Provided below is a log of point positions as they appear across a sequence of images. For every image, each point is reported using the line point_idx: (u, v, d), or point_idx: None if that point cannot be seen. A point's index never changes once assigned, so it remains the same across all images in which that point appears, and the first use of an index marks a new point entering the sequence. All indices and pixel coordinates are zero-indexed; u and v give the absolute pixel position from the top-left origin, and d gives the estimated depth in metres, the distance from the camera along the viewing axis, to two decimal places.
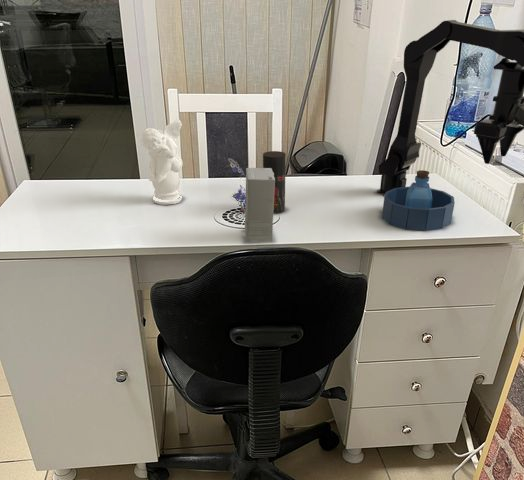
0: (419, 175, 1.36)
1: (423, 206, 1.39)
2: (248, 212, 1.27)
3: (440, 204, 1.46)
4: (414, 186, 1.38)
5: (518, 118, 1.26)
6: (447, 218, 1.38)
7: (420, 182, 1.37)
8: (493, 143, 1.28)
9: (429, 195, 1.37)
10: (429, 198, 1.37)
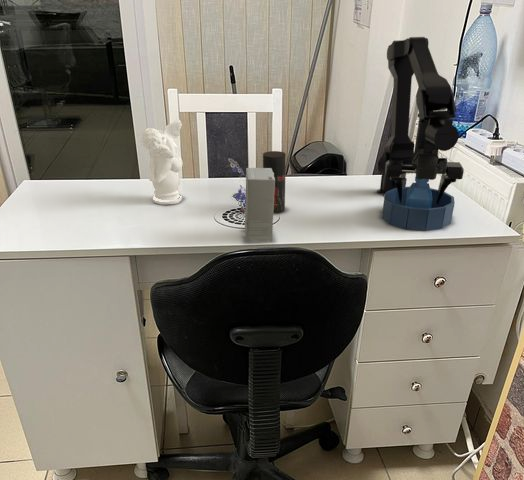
0: None
1: (423, 206, 1.39)
2: (248, 212, 1.27)
3: (440, 204, 1.46)
4: (414, 186, 1.38)
5: (415, 165, 1.32)
6: (447, 218, 1.38)
7: (420, 182, 1.37)
8: None
9: (429, 195, 1.37)
10: (429, 198, 1.37)
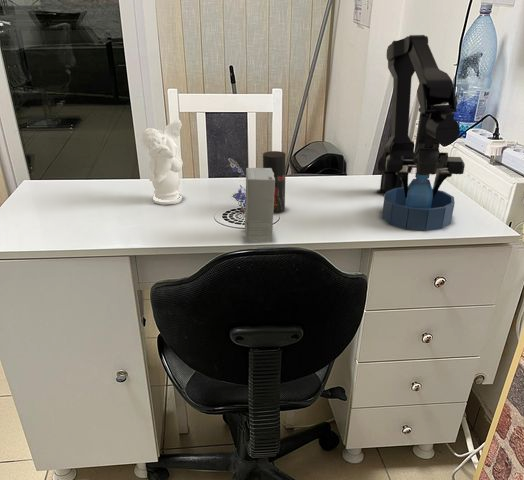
0: None
1: (424, 202, 1.38)
2: (248, 212, 1.27)
3: (440, 204, 1.46)
4: (414, 182, 1.38)
5: (416, 160, 1.32)
6: (447, 218, 1.38)
7: (420, 178, 1.36)
8: None
9: (429, 191, 1.37)
10: (430, 194, 1.37)
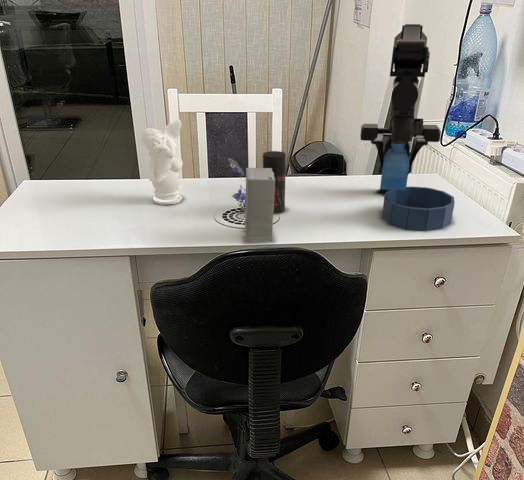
0: None
1: (400, 173, 1.34)
2: (248, 212, 1.27)
3: (440, 204, 1.46)
4: (390, 152, 1.33)
5: (391, 127, 1.27)
6: (447, 218, 1.38)
7: (396, 148, 1.32)
8: None
9: (406, 161, 1.33)
10: (406, 164, 1.33)
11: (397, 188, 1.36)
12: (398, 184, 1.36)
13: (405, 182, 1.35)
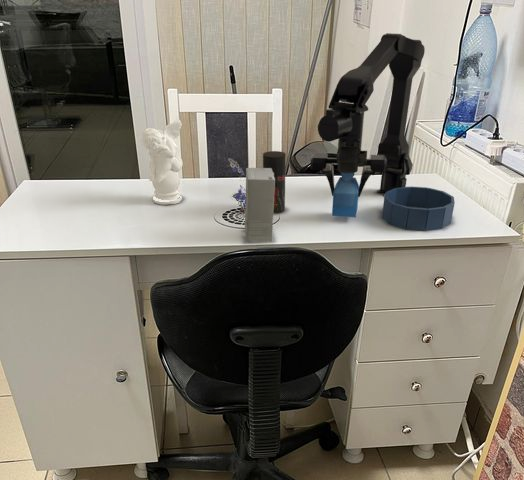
0: None
1: (349, 200, 1.38)
2: (248, 212, 1.27)
3: (440, 204, 1.46)
4: (340, 181, 1.38)
5: (338, 158, 1.32)
6: (447, 218, 1.38)
7: (345, 177, 1.37)
8: None
9: (354, 190, 1.37)
10: (355, 192, 1.37)
11: (347, 215, 1.41)
12: (347, 211, 1.40)
13: (354, 210, 1.39)
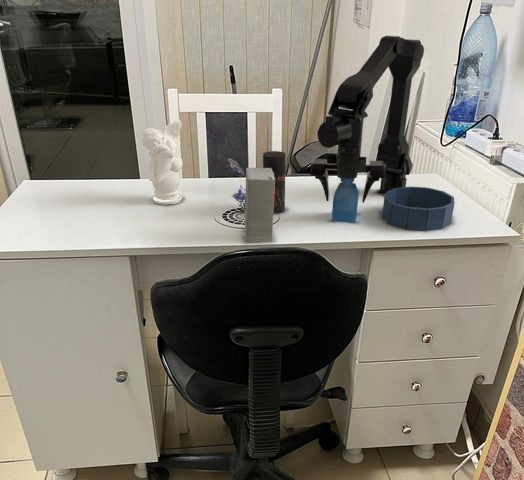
0: None
1: (349, 206, 1.39)
2: (248, 212, 1.27)
3: (440, 204, 1.46)
4: (340, 186, 1.39)
5: (337, 164, 1.33)
6: (447, 218, 1.38)
7: (345, 182, 1.38)
8: None
9: (354, 195, 1.38)
10: (354, 198, 1.38)
11: (347, 220, 1.42)
12: (347, 216, 1.41)
13: (354, 215, 1.40)
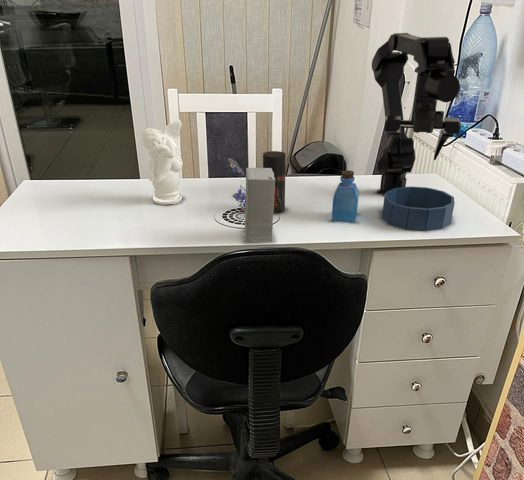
0: (344, 175, 1.37)
1: (349, 206, 1.39)
2: (248, 212, 1.27)
3: (440, 204, 1.46)
4: (340, 186, 1.39)
5: (413, 119, 1.34)
6: (447, 218, 1.38)
7: (345, 182, 1.38)
8: None
9: (354, 195, 1.38)
10: (354, 198, 1.38)
11: (347, 220, 1.42)
12: (347, 216, 1.41)
13: (354, 215, 1.40)
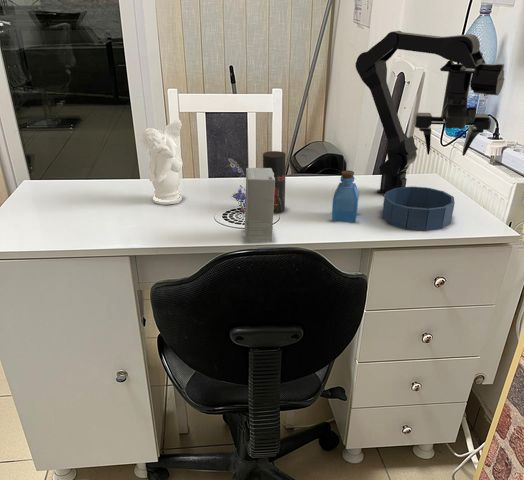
0: (344, 175, 1.37)
1: (349, 206, 1.39)
2: (248, 212, 1.27)
3: (440, 204, 1.46)
4: (340, 186, 1.39)
5: (445, 115, 1.37)
6: (447, 218, 1.38)
7: (345, 182, 1.38)
8: None
9: (354, 195, 1.38)
10: (354, 198, 1.38)
11: (347, 220, 1.42)
12: (347, 216, 1.41)
13: (354, 215, 1.40)
